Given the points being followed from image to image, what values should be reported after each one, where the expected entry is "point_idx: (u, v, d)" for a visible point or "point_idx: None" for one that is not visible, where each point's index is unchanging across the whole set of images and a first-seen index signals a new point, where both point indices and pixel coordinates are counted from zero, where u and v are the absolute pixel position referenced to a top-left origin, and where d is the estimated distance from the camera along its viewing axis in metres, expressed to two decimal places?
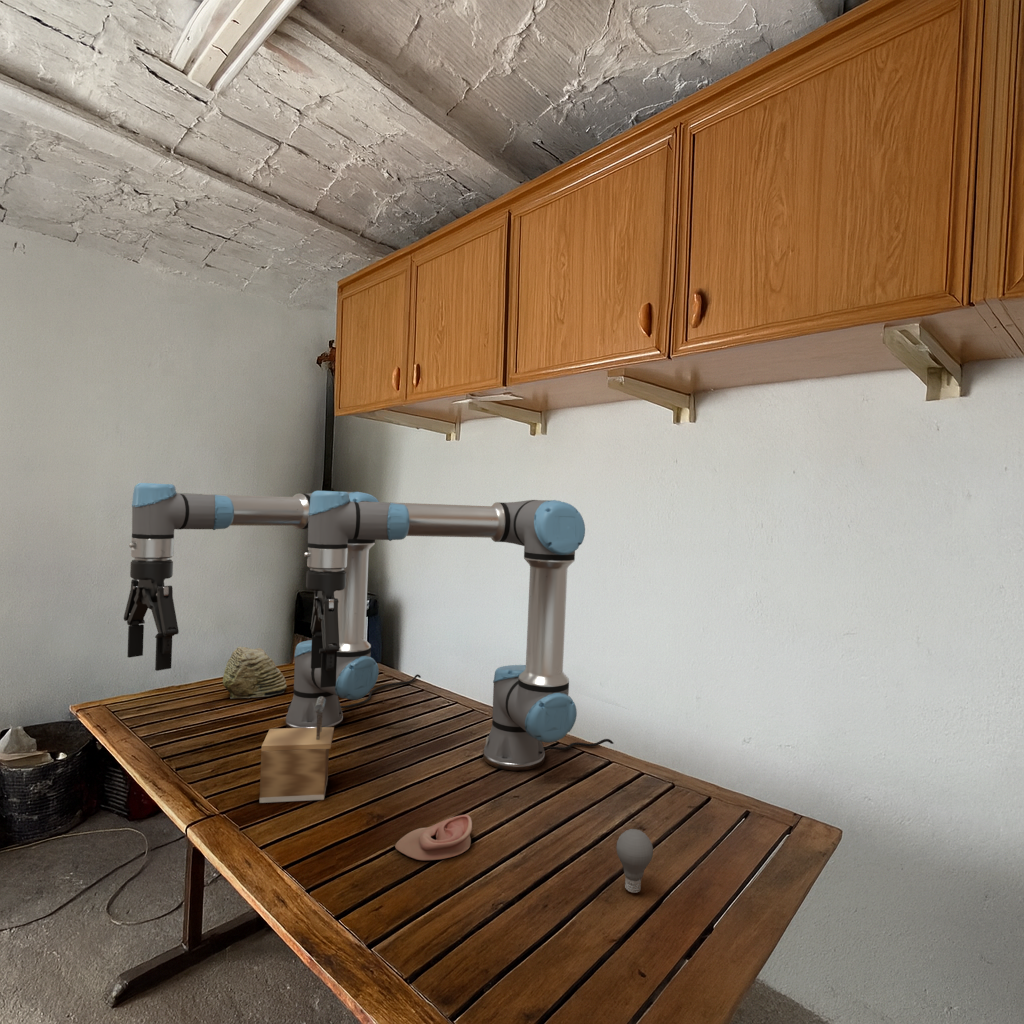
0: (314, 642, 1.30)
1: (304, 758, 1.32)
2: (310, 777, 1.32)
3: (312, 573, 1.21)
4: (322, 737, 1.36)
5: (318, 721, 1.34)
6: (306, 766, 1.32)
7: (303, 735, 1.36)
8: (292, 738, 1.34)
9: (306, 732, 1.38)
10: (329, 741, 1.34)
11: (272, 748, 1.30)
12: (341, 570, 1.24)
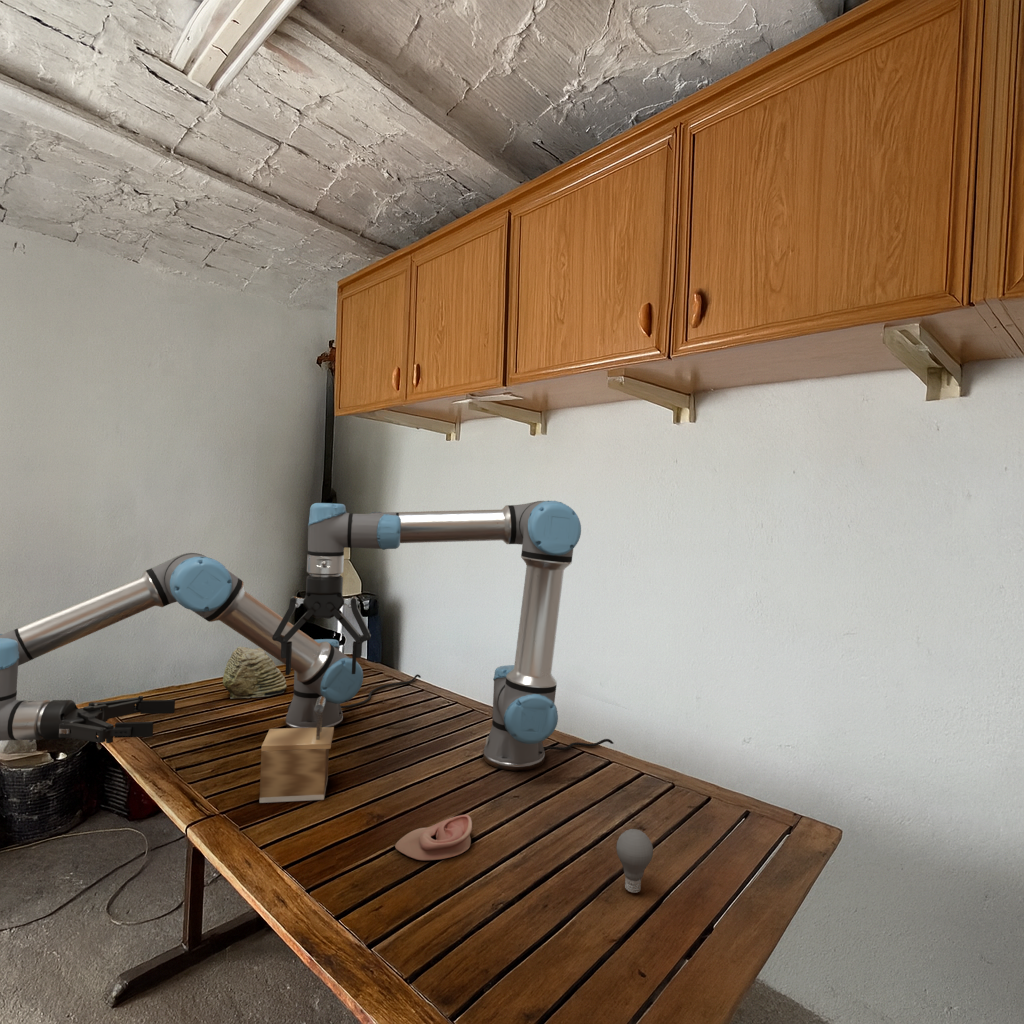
0: (290, 649, 1.34)
1: (304, 758, 1.32)
2: (310, 777, 1.32)
3: (334, 579, 1.34)
4: (322, 737, 1.36)
5: (318, 721, 1.34)
6: (306, 766, 1.32)
7: (303, 735, 1.36)
8: (292, 738, 1.34)
9: (306, 732, 1.38)
10: (329, 741, 1.34)
11: (272, 748, 1.30)
12: None
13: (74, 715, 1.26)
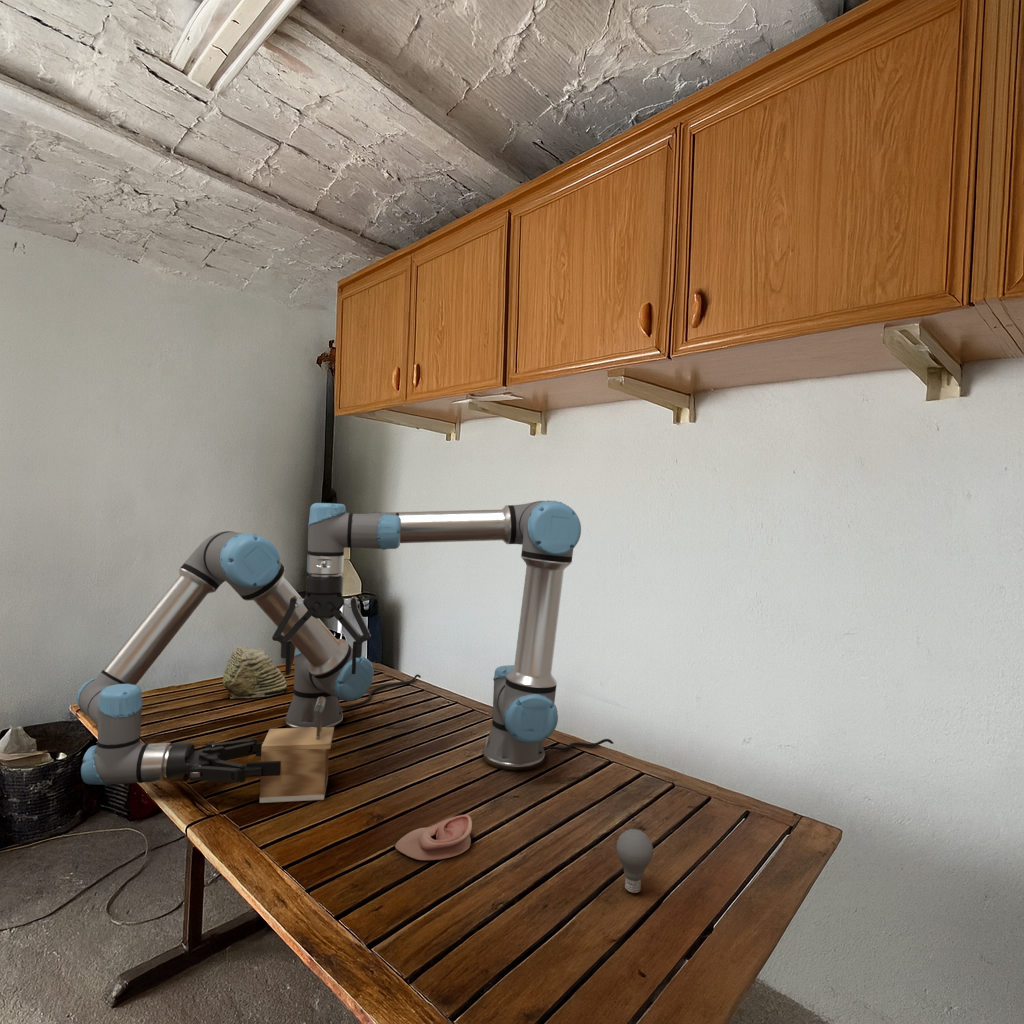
0: (290, 649, 1.34)
1: (304, 758, 1.32)
2: (310, 777, 1.32)
3: (334, 579, 1.34)
4: (322, 737, 1.36)
5: (318, 721, 1.34)
6: (306, 766, 1.32)
7: (303, 735, 1.36)
8: (292, 738, 1.34)
9: (306, 732, 1.38)
10: (329, 741, 1.34)
11: (272, 748, 1.30)
12: None
13: (196, 758, 1.31)
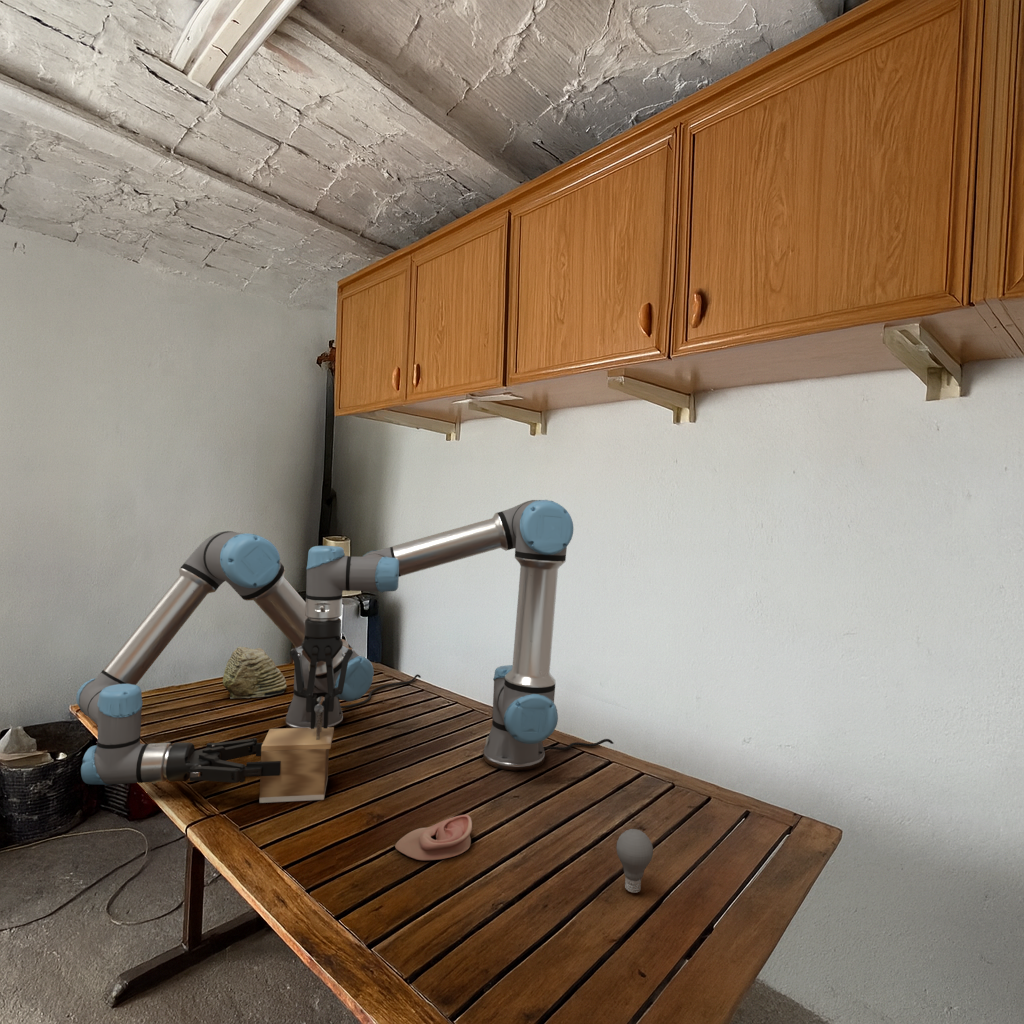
0: (315, 703, 1.36)
1: (304, 758, 1.32)
2: (310, 777, 1.32)
3: (333, 623, 1.34)
4: (322, 737, 1.36)
5: (318, 721, 1.34)
6: (306, 766, 1.32)
7: (303, 735, 1.36)
8: (292, 738, 1.34)
9: (306, 732, 1.38)
10: (329, 741, 1.34)
11: (272, 748, 1.30)
12: None
13: (196, 758, 1.31)
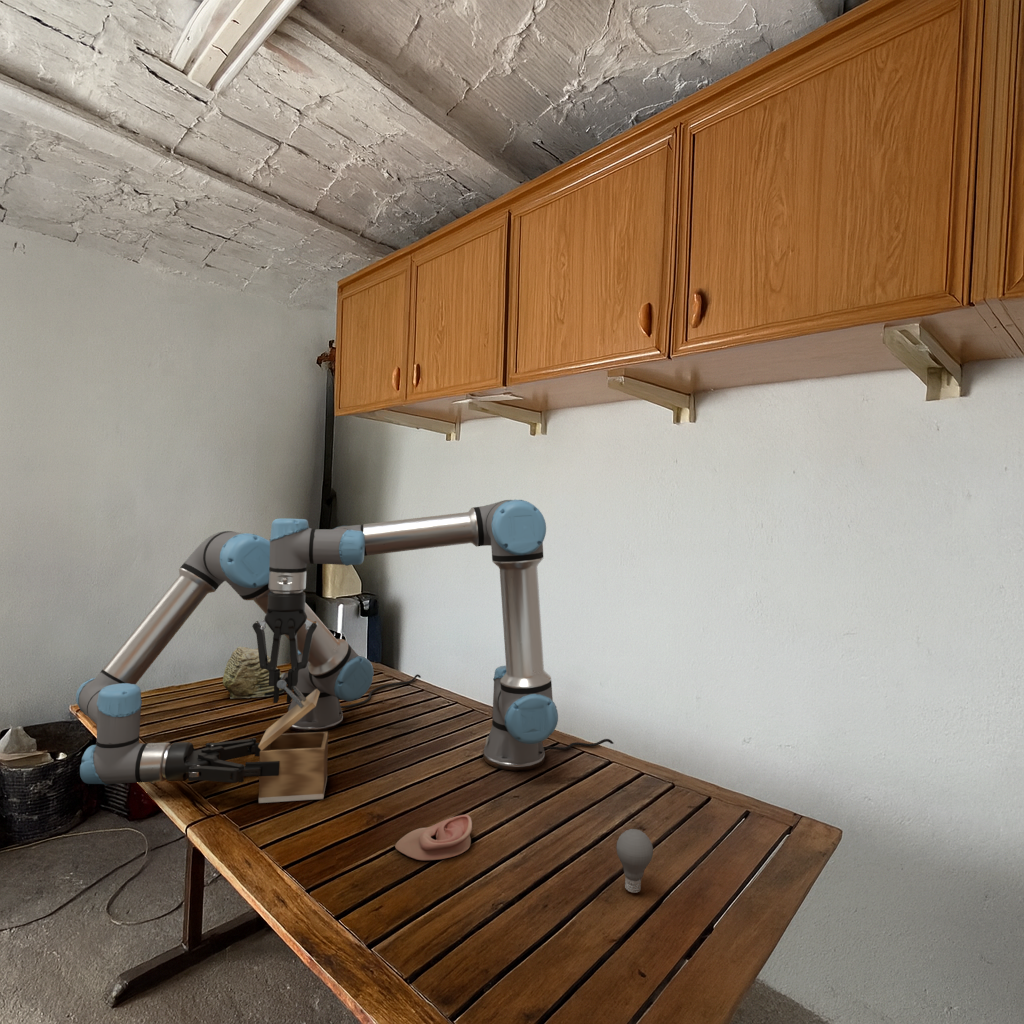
0: (278, 677, 1.34)
1: (303, 758, 1.32)
2: (309, 776, 1.32)
3: (296, 596, 1.32)
4: (306, 703, 1.35)
5: (290, 693, 1.33)
6: (305, 766, 1.32)
7: (291, 713, 1.36)
8: (282, 722, 1.34)
9: (294, 709, 1.37)
10: (311, 701, 1.33)
11: (269, 741, 1.30)
12: None
13: (195, 758, 1.31)
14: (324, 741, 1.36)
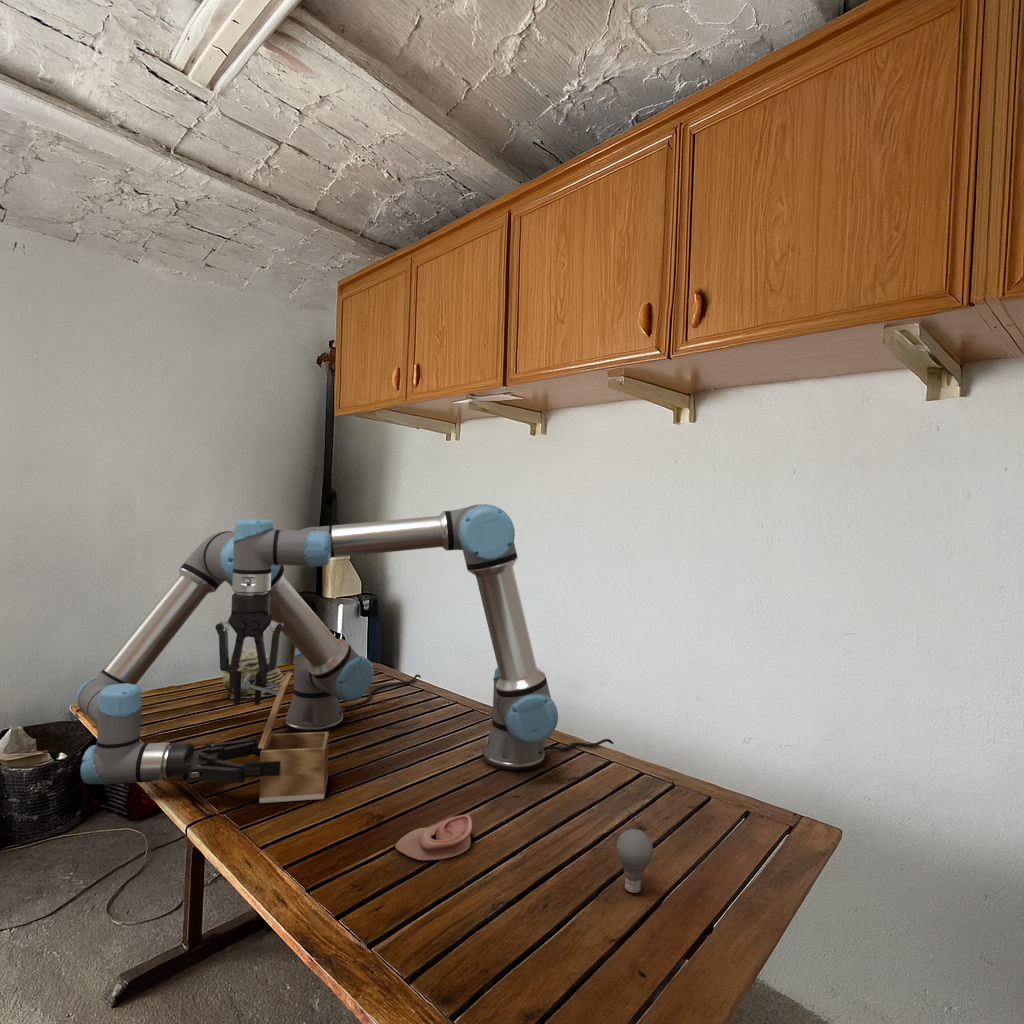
0: (238, 679, 1.32)
1: (303, 758, 1.32)
2: (310, 776, 1.32)
3: (260, 597, 1.31)
4: None
5: (258, 688, 1.31)
6: (305, 766, 1.32)
7: None
8: None
9: None
10: (281, 684, 1.31)
11: (264, 738, 1.30)
12: None
13: (196, 758, 1.31)
14: (325, 741, 1.36)
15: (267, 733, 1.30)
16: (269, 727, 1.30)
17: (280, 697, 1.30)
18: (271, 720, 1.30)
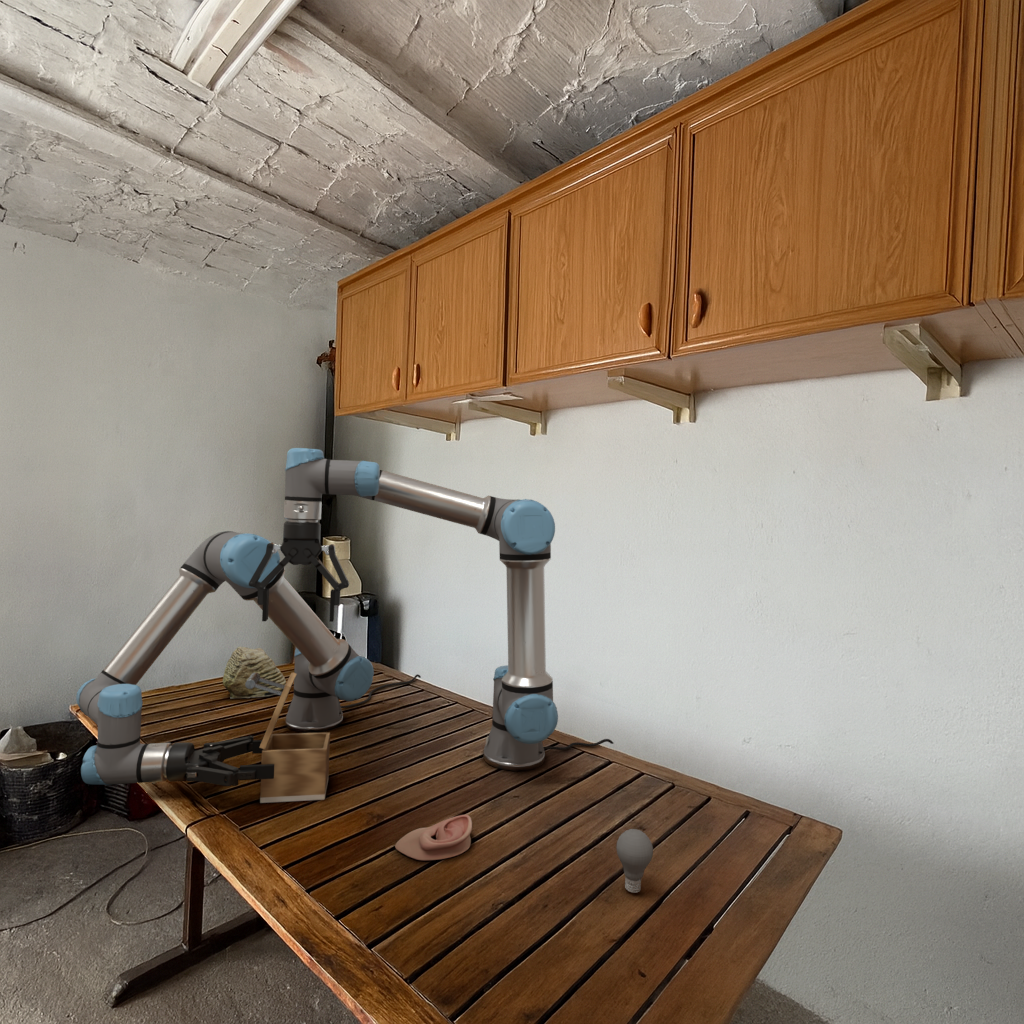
0: (267, 595, 1.33)
1: (305, 758, 1.32)
2: (311, 777, 1.32)
3: (312, 524, 1.33)
4: None
5: (263, 688, 1.32)
6: (307, 766, 1.32)
7: None
8: None
9: None
10: None
11: (266, 738, 1.30)
12: None
13: (196, 758, 1.31)
14: (326, 742, 1.36)
15: (269, 733, 1.30)
16: (272, 727, 1.30)
17: (284, 698, 1.30)
18: (274, 720, 1.30)
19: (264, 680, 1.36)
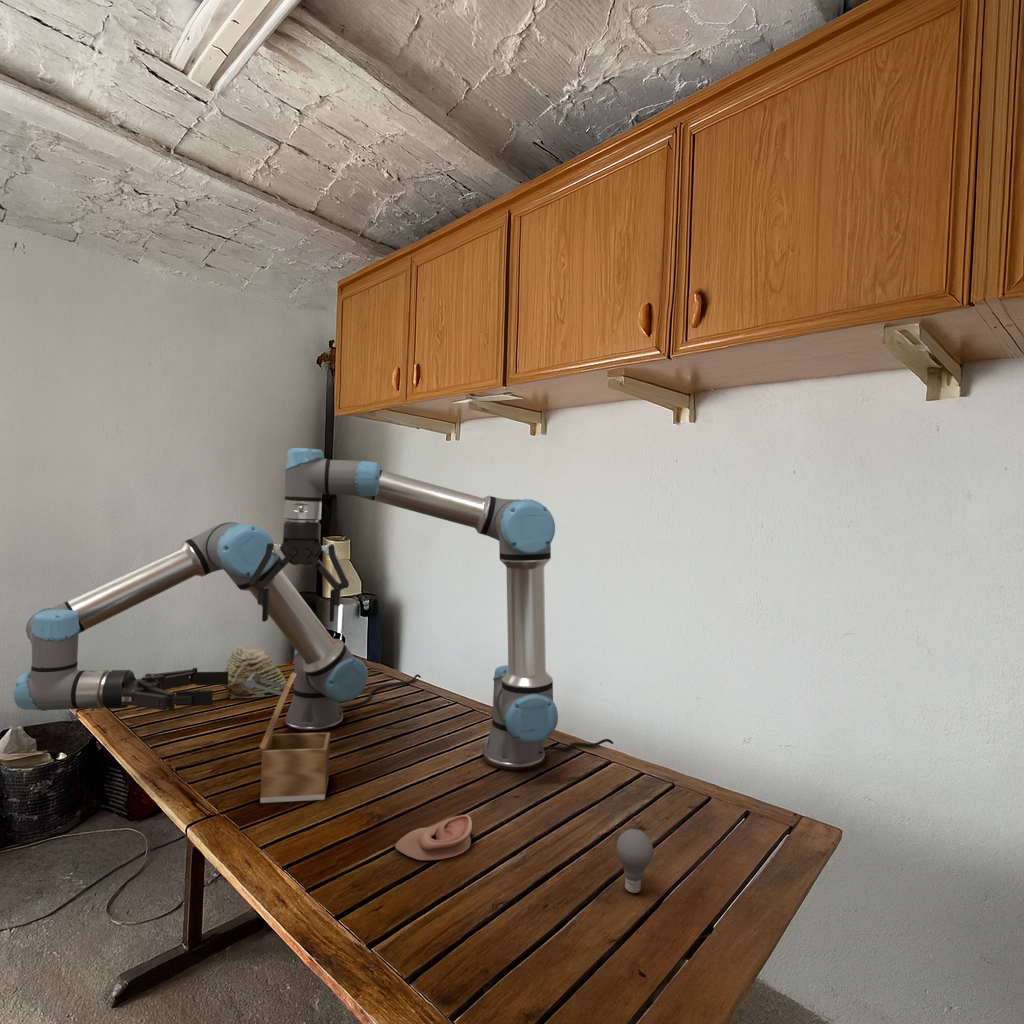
0: (267, 595, 1.33)
1: (305, 758, 1.32)
2: (311, 777, 1.32)
3: (312, 524, 1.33)
4: None
5: (263, 688, 1.32)
6: (307, 766, 1.32)
7: None
8: None
9: None
10: None
11: (266, 738, 1.30)
12: None
13: (134, 685, 1.28)
14: (326, 742, 1.36)
15: (269, 733, 1.30)
16: (272, 727, 1.30)
17: (284, 698, 1.30)
18: (274, 720, 1.30)
19: (264, 680, 1.36)
